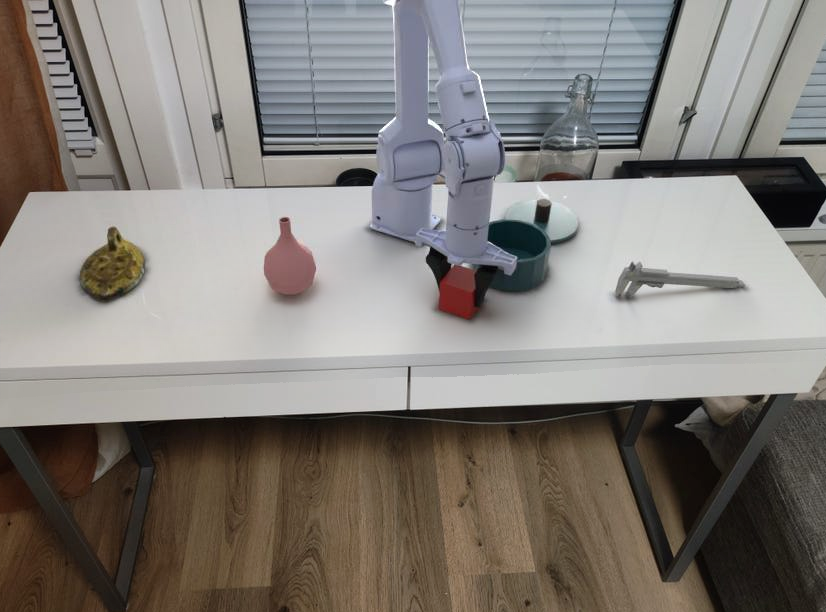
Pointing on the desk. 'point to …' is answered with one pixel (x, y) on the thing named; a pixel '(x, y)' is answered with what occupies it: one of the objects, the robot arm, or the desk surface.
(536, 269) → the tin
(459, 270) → the red block
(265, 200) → the desk surface
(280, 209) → the desk surface
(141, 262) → the seal
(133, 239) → the desk surface
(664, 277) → the caliper
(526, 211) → the lid
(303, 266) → the pink vase
